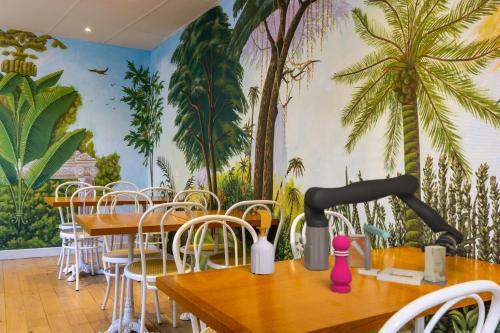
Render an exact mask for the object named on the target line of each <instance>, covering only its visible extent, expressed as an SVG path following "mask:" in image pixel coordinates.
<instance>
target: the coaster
mask: <svg viewBox="0 0 500 333" xmlns="http://www.w3.org/2000/svg"><path fill="white" fill-rule="evenodd" d="M447 282H448V279H445V281H440V282H431V281H427V280H424V281H423V282H422V284H426V285H427V284H428V285H435V286H443V287H445V286H446V284H447Z"/></svg>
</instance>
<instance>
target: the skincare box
mask: <svg viewBox="0 0 500 333" xmlns="http://www.w3.org/2000/svg"><path fill="white" fill-rule="evenodd" d="M446 260H447V258H446V247H442V246H437V245H436V246H430V245H428V246H425V252H424V272H425V280H427V281H431V282H440V281H445V280H446V264H447V263H446Z"/></svg>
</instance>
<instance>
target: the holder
mask: <svg viewBox="0 0 500 333" xmlns="http://www.w3.org/2000/svg"><path fill="white" fill-rule="evenodd" d="M364 234H365V268H364V267H359V268H358V270H357V274H360V275H366V276H374V277H376V280H377V281H384V282H391V283H399V284H406V285H412V286H414V285H415V286H421V284H423V281H424V280H425V271H419V270H412V269H411V270H409V269H403V268H396V267H395V268H394V267H386V268H384V269H383V270H382V271H381V270H380V269H378V268H377V269H376V268H372V267H371V266H372V265H371V255H372V254H371V253H372V252H371V251H372V250H371V246H372V243H371V241H372V240H371V238H372V236H371V235H372V234H371V232H369V231H367V230H364Z"/></svg>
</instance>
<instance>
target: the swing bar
mask: <svg viewBox="0 0 500 333" xmlns="http://www.w3.org/2000/svg"><path fill="white" fill-rule="evenodd" d="M362 229H363V231H365V230H367V231H369V232H371V233H372V234H374V235H376V236H379V237H381V238H383V239H384V238H387V239H388V238H390V232H389V231H387V230H384V229H382V228H380V227H376V226H374V225H372V224H366V223H365V224H363V228H362Z"/></svg>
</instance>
